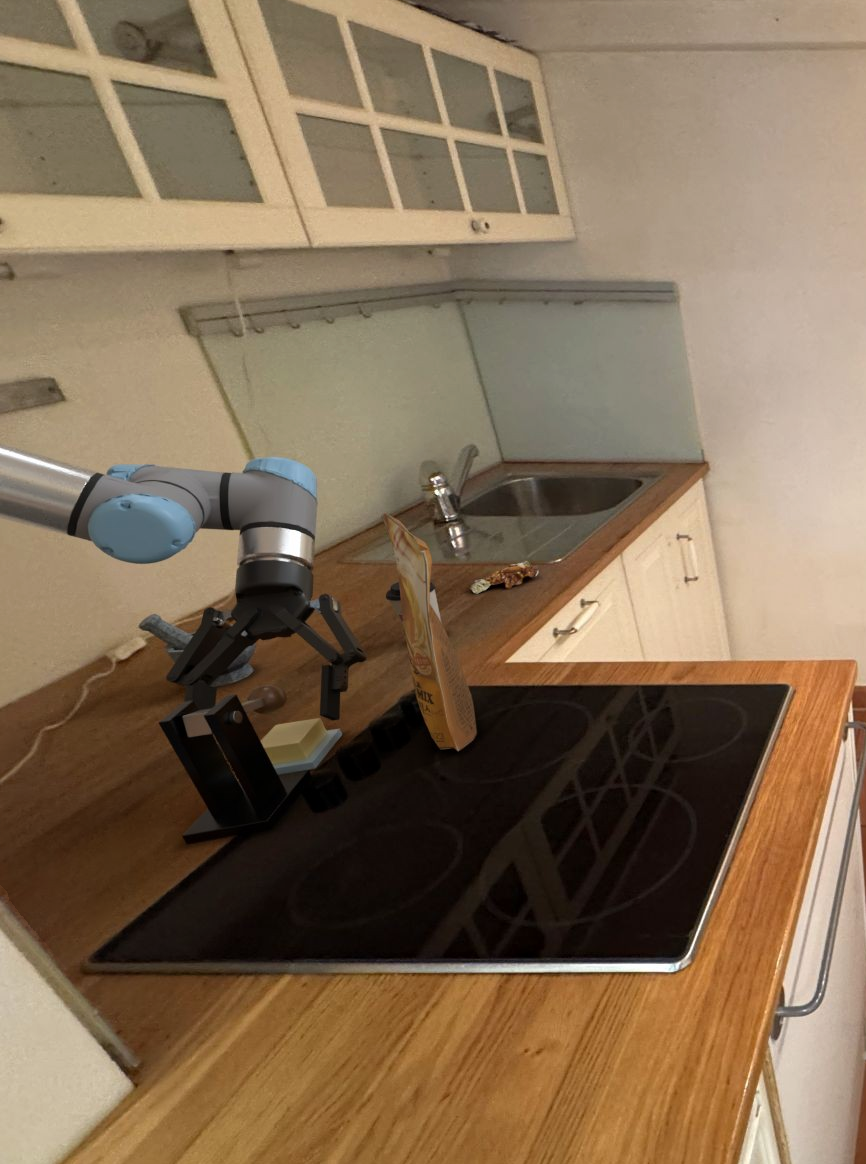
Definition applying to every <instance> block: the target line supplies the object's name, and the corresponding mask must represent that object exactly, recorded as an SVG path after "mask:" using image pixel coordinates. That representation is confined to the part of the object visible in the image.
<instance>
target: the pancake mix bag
mask: <svg viewBox="0 0 866 1164" xmlns="http://www.w3.org/2000/svg"><path fill="white" fill-rule="evenodd" d="M380 518H381V520H382V522H383V523H384V526H385V528H386V530H387V533H388V536H389V539H390V542H391V545H392V550H393V553H394V557H395V562H396V573H397V582H399V587H400V595H401V608H402V616H403V624H404V627H403V629H404V636H405V642H406V649H407V656H408V662H409V668H410V673H411V679H412V682H413V688H414V693H415V697H416V700H417V703H418V706H419V710H420V713H421V715H422V717H423V721H424V723H425V725H426V727H427V729H428V732H429V734H430V737H431V739H432V740H433V741H434V743H435V744H436V745H437V747H438V748H439V750H441V751H443V750H449V749H454V750H455V751H457V752H459V751H461V750H463V749H464V748H465V747H466V746H468V745H469V744H470V743H472V741H474V740H475V738H476V736H477V735H478V731H477V721H476V715H475V707H474V706H475V705H474V701H473V695H472V693H471V690H470V687H469V685H468V682H467V680H466V677H465V674H464V671H463V668H462V666H461V663H460V660H459V658H458V655H457V653H456V651H455V649H454V647H453V645H452V643H451V639H450V638H449V636H448V633H447V631H446V629H445V627H444V625H443V622H442V620H441V621H440V619H439V618H438V616H437V614H436V613H435V611H434V610H433V608H432V606H431V605H430V582H431V577H432V576H431V575H432V565H433V559H432V556H431V552H430V548H429V547H428V544H427V542H425V541H423V540H422V539H420V538H418V536H415V535H414V534H412V532H410V531H409V530H408V529H407V528H406V526H405V525H404V524H403V523H402V521H400V520H399V519H398V518H396V517H394V516H391V515H389V514H387V513H386V512H384V513H383V514H382V515H381V516H380Z"/></svg>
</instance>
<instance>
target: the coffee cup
mask: <svg viewBox="0 0 866 1164" xmlns="http://www.w3.org/2000/svg"><path fill="white" fill-rule="evenodd" d="M435 589H436V585H435V584H434V583H433V582H431V581H430V605H431V606H432V608H433V610H434V611H435V613H436V614H437V616H438V618H439V619H440V621H441V622H442V617H441V614H440V609H439V604H438V599H437V595H436V590H435ZM385 600H388V602H389V604H390V606H391V607H392V609H393V610H394V612H395V614H396V616H397V618H398V619H399V621H400V624H401V625H402V627H403V628H404V624H403V616H402V608H401V595H400V587H399V581H396V582H395V583H393V584H392V585H390V589H389V590H387V591H386V593H385Z"/></svg>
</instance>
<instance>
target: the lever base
mask: <svg viewBox="0 0 866 1164" xmlns="http://www.w3.org/2000/svg"><path fill="white" fill-rule="evenodd" d="M241 703H242V702H241V700H240V699H239V697H238V694H229V695H225V696H224V697H223V698H222V699H220V700H219V702H216V705H215V706H214V707H213V708H212V709H211V710H209V711H208V712H207V713H206V714H205V715H204V718H205V720H206V722H207V723H208V725H209V727H210V729H211V731H212V733H213V735H212V734H208V735H201V736H195V737H188V735H187V732H186V728H185V725H184V721H183V718H182V716H184V715H187V714H190V713H193V712H196V711H199V709H198V708H197V706H196V704H195V702H194V701H187V702H184V701H183V702H181V703H180V704H179V705H178V706H176V707H175V708H174V709H173V710H172V711H170V712H169V713H168V714H166V715H165V716H164V717H163V718H162V719H161V720H159V721H158V725H159V727H160V728H161V730H162V732H163V734H164V735H165V737H166V738H167V740H168V742H169V744H170V746H171V748H172V749H173V751H174V752H175V753H174V754H175V755H176V756H177V758H178V760H179V762H180V763H181V764H182V767H183V768H184V770H185V772H186V774H187V775H188V777H189V778H190V780H191V782H192V784H193V786H194V787H195V789H196V790H197V792H198V794H199V796H200V798H201V799H202V801H203V803H204V805H205V806H206V809H205V810H204V812H202V814H201V815H200V816H199V817H197V819H196V820H195V821H194V822H193V823H192V824H191V825H190V826H189V827H188V829H187V830H186V831H185V832H184V833H183V834H182V835H181V837H182V839H183V840H184V842H185V844H186V845H189V844H195V843H200V842H201V843H202V842H207V841H211V840H212V841H213V840H218V839H223V838H228V837H229V838H230V837H235V836H239V835H245V834H251V833H256V832H262V831H267V830H272V829H273V828H274V827H275V825H276V824H277V823H278V822H279V820H280V819H281V818H282V816H283V815H284V814H286V811H288V809H289V808H290V807H291V805H292V804H293V803H294V801H295V800H296V799H297V798H298V797H299V795H300V794H301V792H302V791H303V790H304V789H305V788H306V786H307V785H308V784H309V783H310V781H311V780H312V779H313V775H312V774H311V770H310V769H309V770H303V771H297V772H291V773H285V774H279V775H278V774H277V772H276V770H275V768H274V766H273V764H272V763H271V761H270V759H269V757H268V755H267V753H266V751H265V749H264V747H263V745H262V743H261V739H260V737H259V736H258V733H257V731H256V729H255V728H254V726H253V724H252V721H251V720H250V718H249V716H248V714H247V713H246V712H245V710H244V708H243V706H242V704H241Z"/></svg>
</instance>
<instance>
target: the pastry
mask: <svg viewBox="0 0 866 1164" xmlns="http://www.w3.org/2000/svg"><path fill="white" fill-rule="evenodd" d="M539 573H540V571H539V569H538V566H535V567H534V566H533V565H532V564H530V562H529V560H525V561H522V562H518V563H515V564H514V563H511V564H508V565H507V567H505V568H502V570H496V571H495V572H493V573H491V574H490V576H487V577H485V578H480V579H476V580H474V583H473V584H471V586H470V587H469V589H470V590H471V591H472V592H473V593H474V594H476V595H478V594H479V593H481V592H485V591H486V590H487V589H488V588H490V586H494V585H499V584H502V583H504V585H505V588H506V589H508V590H509V589H511V588H513V586H518V585H521V584H523V580H524V578H525V577H527V576H529V577H530V578H535V577H537V576H538V574H539Z"/></svg>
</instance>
